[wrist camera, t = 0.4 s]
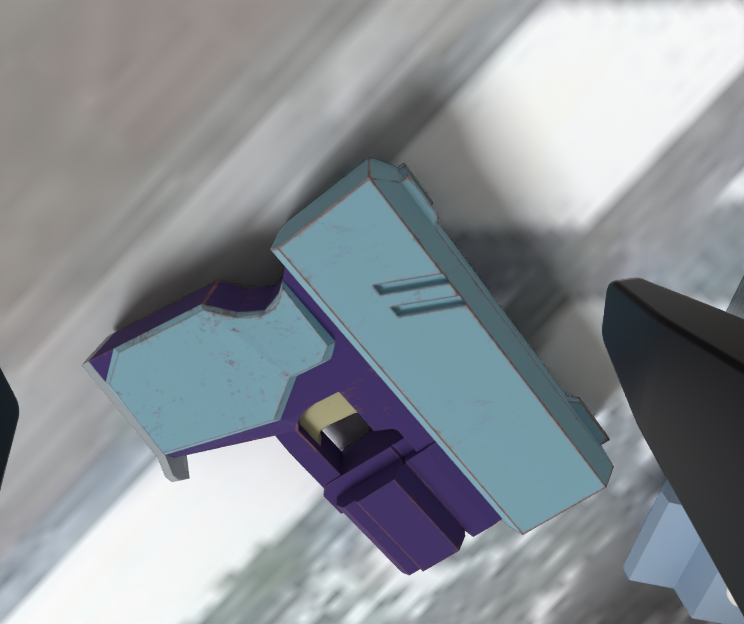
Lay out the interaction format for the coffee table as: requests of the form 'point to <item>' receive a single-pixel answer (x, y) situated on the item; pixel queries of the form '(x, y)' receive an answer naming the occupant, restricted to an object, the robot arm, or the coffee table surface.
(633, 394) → the robot arm
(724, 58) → the coffee table surface
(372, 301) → the pistol
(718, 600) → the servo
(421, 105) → the coffee table surface
